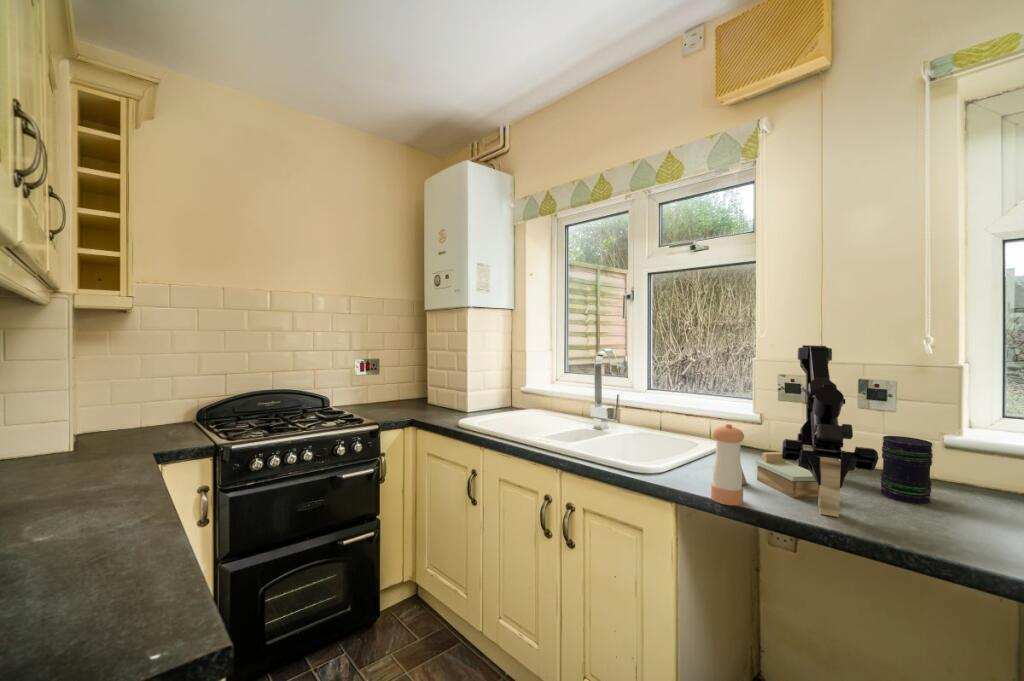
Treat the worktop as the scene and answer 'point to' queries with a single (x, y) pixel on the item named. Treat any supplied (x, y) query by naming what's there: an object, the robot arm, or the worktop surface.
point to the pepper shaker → (727, 466)
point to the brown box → (829, 486)
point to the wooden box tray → (788, 484)
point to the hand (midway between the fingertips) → (830, 486)
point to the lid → (784, 467)
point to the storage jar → (906, 469)
